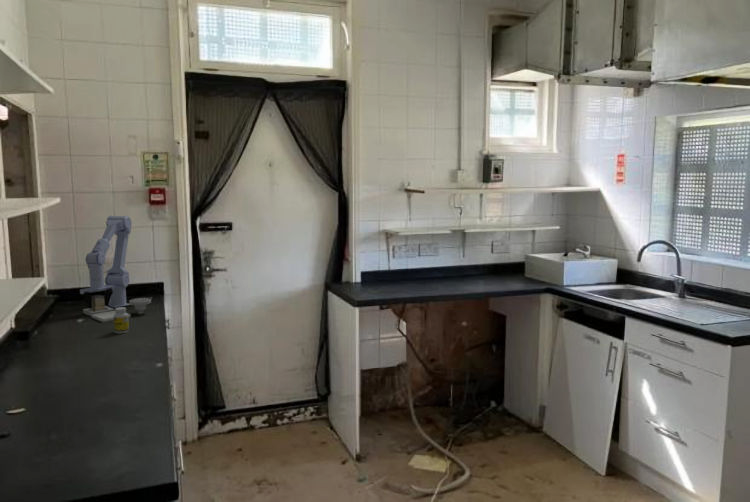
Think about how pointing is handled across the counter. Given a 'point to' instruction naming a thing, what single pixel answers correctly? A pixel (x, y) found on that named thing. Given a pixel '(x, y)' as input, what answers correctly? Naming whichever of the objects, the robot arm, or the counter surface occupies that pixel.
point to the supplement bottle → (121, 320)
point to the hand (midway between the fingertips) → (98, 306)
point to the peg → (98, 303)
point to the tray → (106, 316)
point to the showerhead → (140, 304)
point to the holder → (90, 312)
